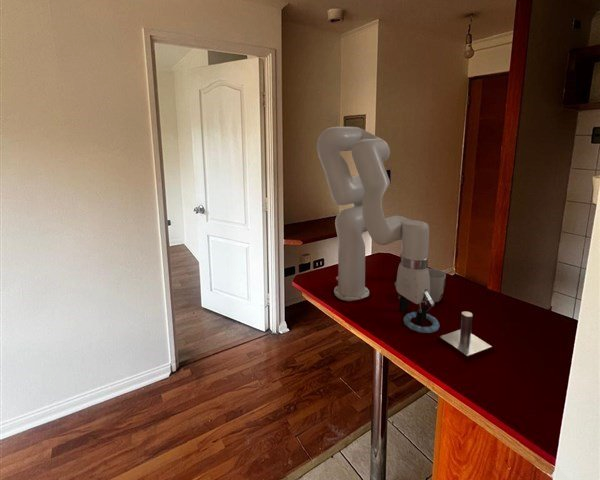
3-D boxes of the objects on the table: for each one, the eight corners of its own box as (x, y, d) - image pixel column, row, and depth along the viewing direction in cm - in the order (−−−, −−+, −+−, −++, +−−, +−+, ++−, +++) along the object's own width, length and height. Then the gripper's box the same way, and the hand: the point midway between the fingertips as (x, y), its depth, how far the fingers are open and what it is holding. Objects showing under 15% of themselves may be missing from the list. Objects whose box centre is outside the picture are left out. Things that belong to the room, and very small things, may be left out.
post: (439, 340, 90) (441, 309, 88) (462, 332, 93) (464, 302, 92) (467, 360, 82) (469, 327, 80) (491, 350, 85) (494, 318, 84)
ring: (396, 321, 100) (396, 315, 99) (421, 313, 103) (421, 307, 103) (420, 339, 90) (420, 332, 90) (446, 330, 94) (447, 324, 94)
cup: (446, 307, 107) (448, 279, 105) (420, 305, 108) (422, 277, 107) (441, 295, 114) (442, 269, 113) (417, 294, 116) (418, 267, 114)
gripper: (385, 254, 104) (384, 306, 107) (426, 275, 88) (423, 335, 91) (404, 250, 106) (402, 301, 110) (446, 270, 91) (443, 328, 94)
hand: (412, 316), depth 100 cm, fingers open, 6 cm apart
